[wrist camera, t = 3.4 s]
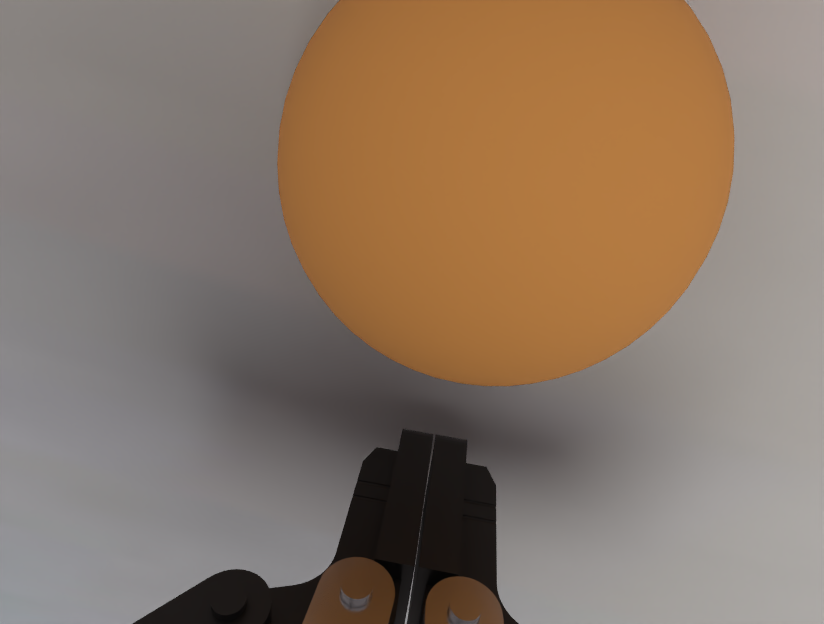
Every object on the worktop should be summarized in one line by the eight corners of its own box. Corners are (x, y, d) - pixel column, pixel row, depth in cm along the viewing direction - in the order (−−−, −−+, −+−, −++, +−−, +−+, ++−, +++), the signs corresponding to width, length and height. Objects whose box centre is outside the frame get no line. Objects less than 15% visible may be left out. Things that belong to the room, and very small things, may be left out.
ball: (348, -70, 9) (165, -192, 4) (710, -24, 9) (1010, -96, 4) (330, 259, 12) (207, 436, 7) (607, 303, 12) (700, 526, 7)
